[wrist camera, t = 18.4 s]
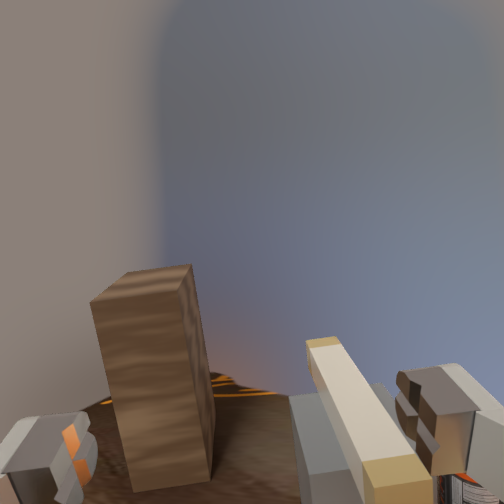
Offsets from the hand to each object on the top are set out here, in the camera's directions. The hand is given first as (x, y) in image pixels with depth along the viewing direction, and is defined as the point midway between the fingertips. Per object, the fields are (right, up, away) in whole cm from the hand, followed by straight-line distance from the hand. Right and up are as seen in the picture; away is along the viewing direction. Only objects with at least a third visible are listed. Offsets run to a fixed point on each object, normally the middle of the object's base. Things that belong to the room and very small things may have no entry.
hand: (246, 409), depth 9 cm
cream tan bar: (+9, -11, +22) cm, 26 cm away
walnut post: (-11, -25, +42) cm, 50 cm away
